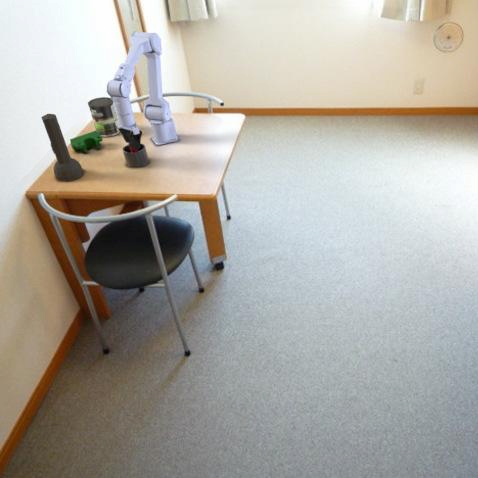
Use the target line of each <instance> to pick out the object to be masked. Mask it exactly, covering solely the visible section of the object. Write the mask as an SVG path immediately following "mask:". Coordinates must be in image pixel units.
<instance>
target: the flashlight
mask: <svg viewBox="0 0 478 478" xmlns="http://www.w3.org/2000/svg"><path fill="white" fill-rule="evenodd" d="M41 120H42V123H43V125H44V128H45V131H46V134H47V136H48V139H49V142H50V147H51V150H52V152H53V154H54V155H55V158H56V162H55V163H54V165H53V175H54V176H55V178H56V179H57V180H58V181H62V182H70V181H75V180H77V179H78V178H80V177H82V176H83V174H84V173H83V167H82V165H81V163H80V162H79V160H77V159H76V158H73V157H71V154H70V152H69V149H68V145H67V143H66V140H65V138H64V134H63V132H62V129H61V126H60V124H59V120H58V118H57V115H56V114H55V113H46V114H44V115H42V116H41Z"/></svg>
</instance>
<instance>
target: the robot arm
mask: <svg viewBox="0 0 478 478" xmlns="http://www.w3.org/2000/svg"><path fill="white" fill-rule="evenodd" d="M129 44H130V47H129V50H128V52H127V56H126V58H125V60H124V62H122V63H120V64H119V66H118V68H117V70H116V72H115V74H114V76H113V78H112V79H111V80H109V81H108V82H107V83H106V93H107V95H108V96H109V98H111V100H112V101H113V103H114V106H115V110H116V114H117V120H118V123H119V125H117V126H116V127H117V128H118V130H119V131H120V135H122V138H123V140H124V142H125V143H127V144H128V142H129V141H131V142H132V145H133V147H134V149H135V150H136V149H139V148H140V146H141V144H142V142H141V141H142V135H143V130H142V129H141V130H140V129H139V127H138V126H137V122H136V119H135V116H134V111H133V106H132V104H131V103H132V102H131V100H130V95H131V93H132V90H131V89H132V81H133V80H134V77H135V75H136V69H135V66H136V65H137V64H138V62H139V60H140V58H141V56H142V55H144V56H145V57H146V69H147V81H148V82H147V83H148V98H147V99H146V100H145V101H144V108H143V115H144V118H145V119H146V120H147V121H148V123H150V126H151V131H152V136H153V137H151V139H152V141H153V142H154V144H155V145H156V146H161V145H165V144H169V143H173V142H178V141H179V137H178V133H177V128H176V123H175V121H174V119H173V118H172V110H171V108H170V102H168V101H167V99H165V98H163V97H164V96H163V81H162V80H163V79H162V62H161V55H162V54H163V52H162V51H163V49H162V38H161V37H160V35H159V34H158V33H157V32H145V31H137V30H135V31H134V30H133V31H132V33H131V35H130V36H129Z"/></svg>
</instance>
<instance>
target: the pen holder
mask: <svg viewBox="0 0 478 478" xmlns="http://www.w3.org/2000/svg"><path fill="white" fill-rule="evenodd" d="M122 153H123V155H124V160H125V163H126V166H127V167H129V168H132V169H133V168H134V169H135V168H141V167H144V166H147V164H148V163H149V156H148V152H147V148H146V145H145V144H144V143H141V146H140V148H139V149H138V151H137V152H131V150H130V147H129V144H127V145H124V146H123V148H122Z"/></svg>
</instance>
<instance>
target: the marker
mask: <svg viewBox="0 0 478 478" xmlns="http://www.w3.org/2000/svg"><path fill="white" fill-rule="evenodd" d="M127 145H129V147H130V150H131V152H137V151H138V149H136V150H135V149H134V147H133V145H132V142H131V141H129V142H128V143H127Z"/></svg>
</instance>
